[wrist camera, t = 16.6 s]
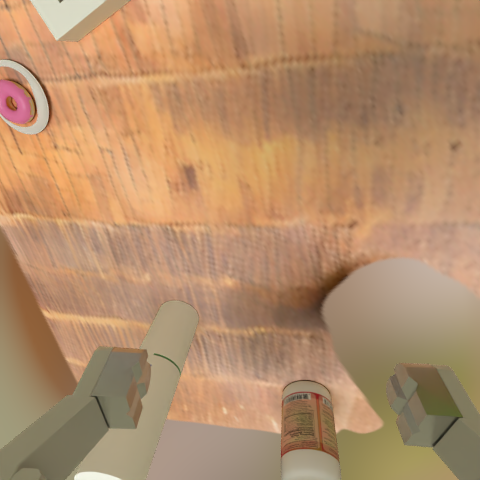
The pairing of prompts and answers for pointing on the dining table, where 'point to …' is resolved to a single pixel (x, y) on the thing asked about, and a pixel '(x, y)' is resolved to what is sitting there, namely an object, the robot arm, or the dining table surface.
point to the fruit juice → (308, 434)
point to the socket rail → (75, 16)
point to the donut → (23, 101)
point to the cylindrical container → (147, 400)
